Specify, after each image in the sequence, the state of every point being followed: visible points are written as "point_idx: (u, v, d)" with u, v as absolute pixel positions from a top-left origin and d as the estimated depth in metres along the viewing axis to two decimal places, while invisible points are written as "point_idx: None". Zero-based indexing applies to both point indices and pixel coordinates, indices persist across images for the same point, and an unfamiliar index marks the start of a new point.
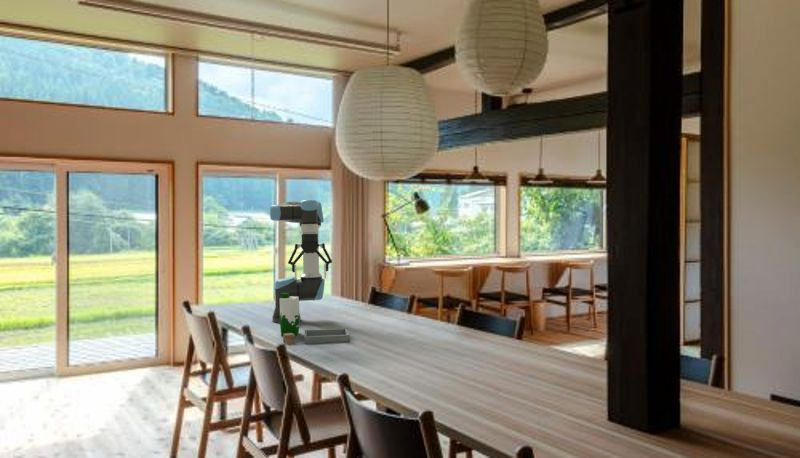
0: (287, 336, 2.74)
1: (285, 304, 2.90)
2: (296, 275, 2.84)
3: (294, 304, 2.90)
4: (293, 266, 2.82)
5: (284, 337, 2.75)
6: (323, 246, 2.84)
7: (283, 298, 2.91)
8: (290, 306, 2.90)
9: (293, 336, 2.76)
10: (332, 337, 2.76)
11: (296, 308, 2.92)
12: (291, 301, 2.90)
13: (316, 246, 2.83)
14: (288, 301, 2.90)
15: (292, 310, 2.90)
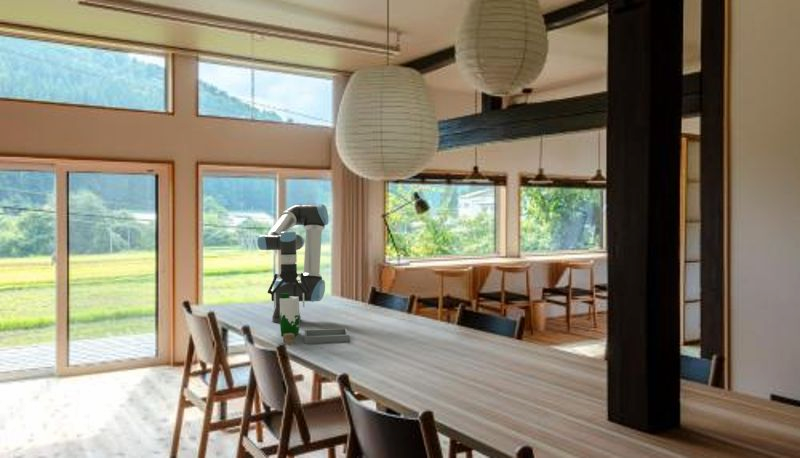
0: (287, 336, 2.74)
1: (285, 304, 2.90)
2: None
3: (294, 304, 2.90)
4: (272, 295, 2.92)
5: (284, 337, 2.75)
6: (302, 276, 2.93)
7: (283, 298, 2.91)
8: (290, 306, 2.90)
9: (293, 336, 2.76)
10: (332, 337, 2.76)
11: (296, 308, 2.92)
12: (291, 301, 2.90)
13: (295, 276, 2.93)
14: (288, 301, 2.90)
15: (292, 310, 2.90)
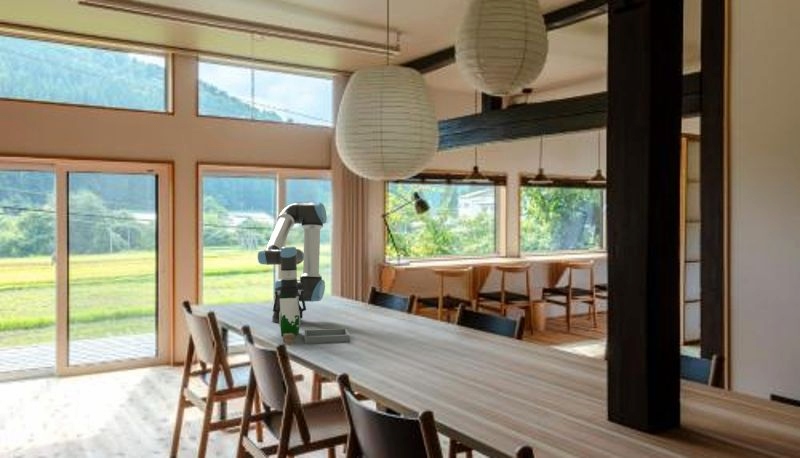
0: (287, 336, 2.74)
1: (285, 304, 2.90)
2: None
3: (294, 304, 2.90)
4: (278, 313, 2.93)
5: (284, 337, 2.75)
6: (301, 293, 2.94)
7: (283, 298, 2.91)
8: (290, 306, 2.90)
9: (293, 336, 2.76)
10: (332, 337, 2.76)
11: (296, 308, 2.92)
12: (291, 301, 2.90)
13: (295, 291, 2.93)
14: (288, 301, 2.90)
15: (292, 310, 2.90)
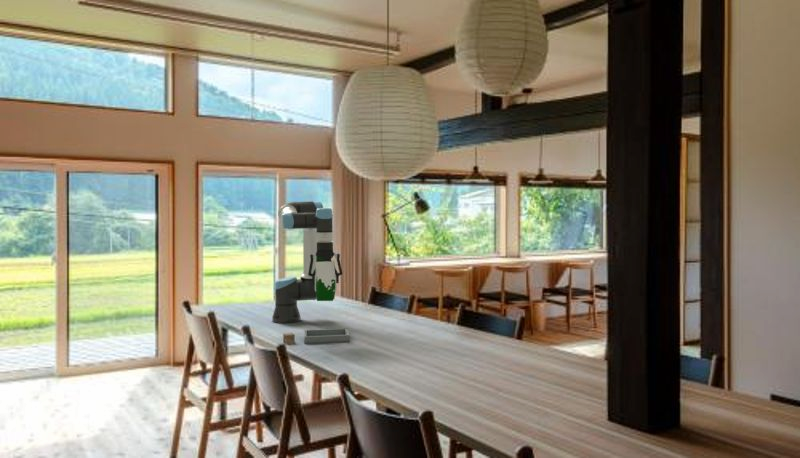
0: (287, 336, 2.74)
1: (321, 267, 2.78)
2: None
3: (331, 268, 2.78)
4: (313, 278, 2.81)
5: (285, 337, 2.75)
6: (338, 256, 2.82)
7: None
8: (326, 270, 2.78)
9: (293, 336, 2.76)
10: (332, 337, 2.76)
11: (332, 272, 2.80)
12: (327, 264, 2.78)
13: (331, 254, 2.81)
14: (325, 264, 2.78)
15: (328, 274, 2.78)
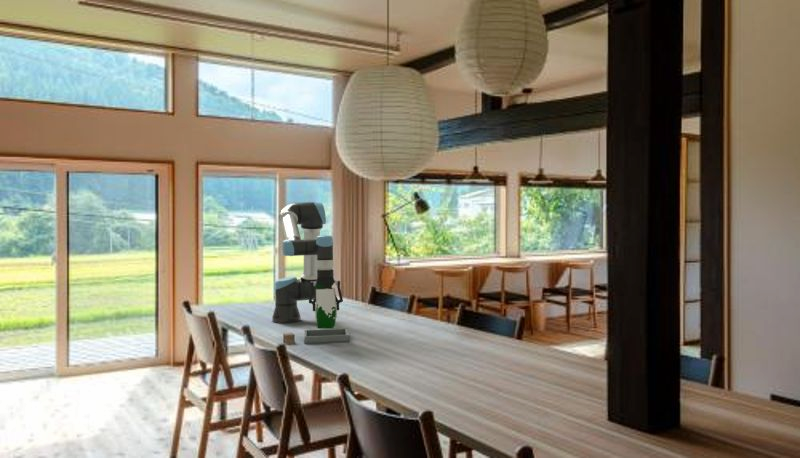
0: (287, 336, 2.74)
1: (322, 295, 2.78)
2: None
3: (331, 295, 2.79)
4: (314, 305, 2.81)
5: (285, 337, 2.75)
6: (338, 284, 2.82)
7: (320, 289, 2.80)
8: (327, 297, 2.78)
9: (293, 336, 2.76)
10: (332, 337, 2.76)
11: (333, 299, 2.80)
12: (328, 292, 2.79)
13: (331, 282, 2.82)
14: (325, 292, 2.78)
15: (329, 301, 2.79)
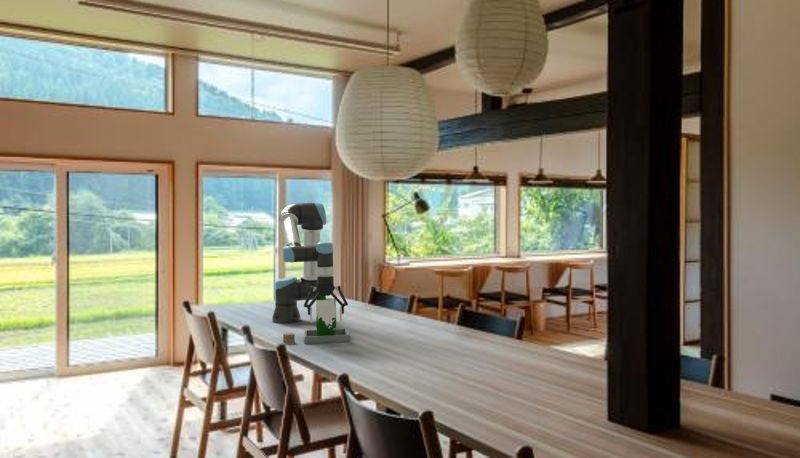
0: (287, 336, 2.74)
1: (322, 306, 2.79)
2: None
3: (331, 306, 2.79)
4: (309, 309, 2.81)
5: (285, 337, 2.75)
6: (339, 289, 2.82)
7: (320, 300, 2.80)
8: (327, 308, 2.78)
9: (293, 336, 2.76)
10: (332, 337, 2.76)
11: (333, 310, 2.80)
12: (328, 303, 2.79)
13: (332, 289, 2.82)
14: (325, 303, 2.78)
15: (329, 312, 2.79)
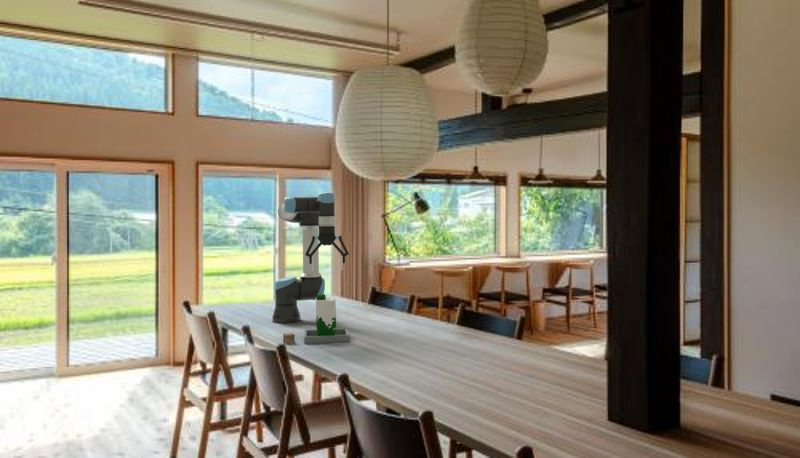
0: (287, 336, 2.74)
1: (322, 306, 2.79)
2: None
3: (331, 306, 2.79)
4: (310, 258, 2.85)
5: (285, 337, 2.75)
6: (340, 238, 2.87)
7: (320, 300, 2.80)
8: (327, 308, 2.78)
9: (293, 336, 2.76)
10: (332, 337, 2.76)
11: (333, 310, 2.80)
12: (328, 303, 2.79)
13: (333, 238, 2.86)
14: (325, 303, 2.79)
15: (329, 312, 2.79)
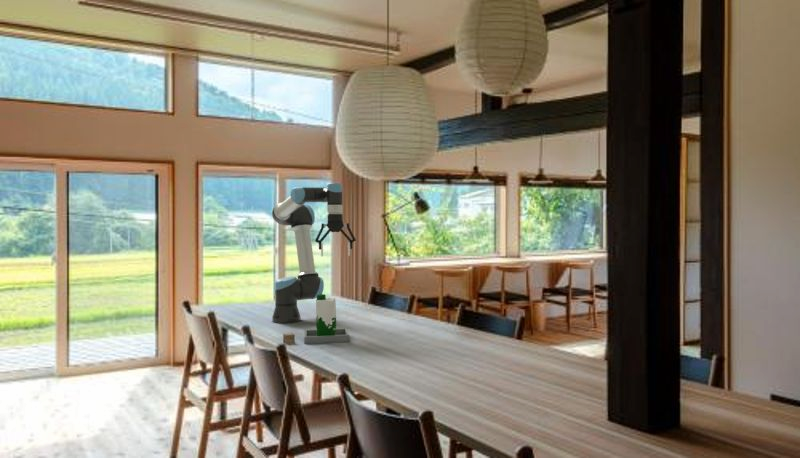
0: (287, 336, 2.74)
1: (322, 306, 2.79)
2: None
3: (331, 306, 2.79)
4: (320, 244, 3.05)
5: (285, 337, 2.75)
6: (347, 225, 3.06)
7: (320, 300, 2.80)
8: (327, 308, 2.78)
9: (293, 336, 2.76)
10: (332, 337, 2.76)
11: (333, 310, 2.80)
12: (328, 303, 2.79)
13: (341, 225, 3.05)
14: (325, 303, 2.79)
15: (329, 312, 2.79)
